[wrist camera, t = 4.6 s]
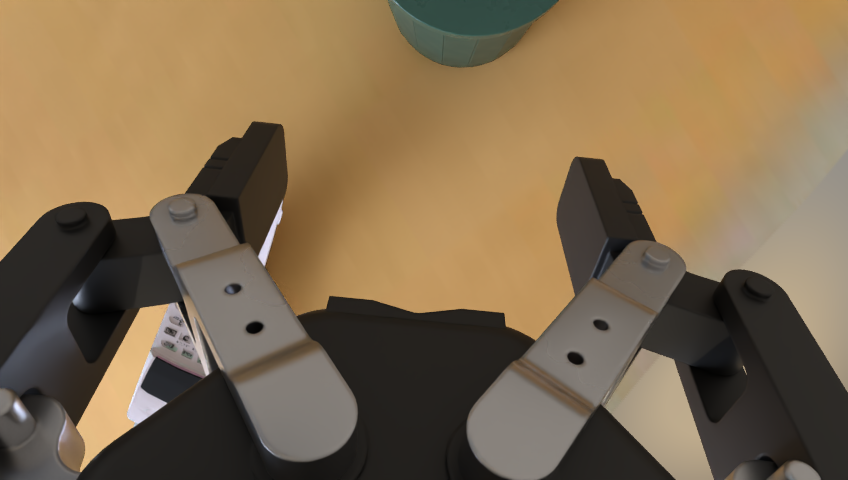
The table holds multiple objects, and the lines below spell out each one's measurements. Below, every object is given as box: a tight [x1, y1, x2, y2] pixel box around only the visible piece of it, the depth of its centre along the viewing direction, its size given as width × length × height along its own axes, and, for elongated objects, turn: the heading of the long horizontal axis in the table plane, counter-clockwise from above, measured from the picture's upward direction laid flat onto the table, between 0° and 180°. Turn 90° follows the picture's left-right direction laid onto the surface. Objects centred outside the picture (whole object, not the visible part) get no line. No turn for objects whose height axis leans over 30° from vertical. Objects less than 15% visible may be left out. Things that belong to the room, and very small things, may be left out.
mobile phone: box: [127, 199, 284, 427], centre depth 39 cm, size 6×6×25 cm
